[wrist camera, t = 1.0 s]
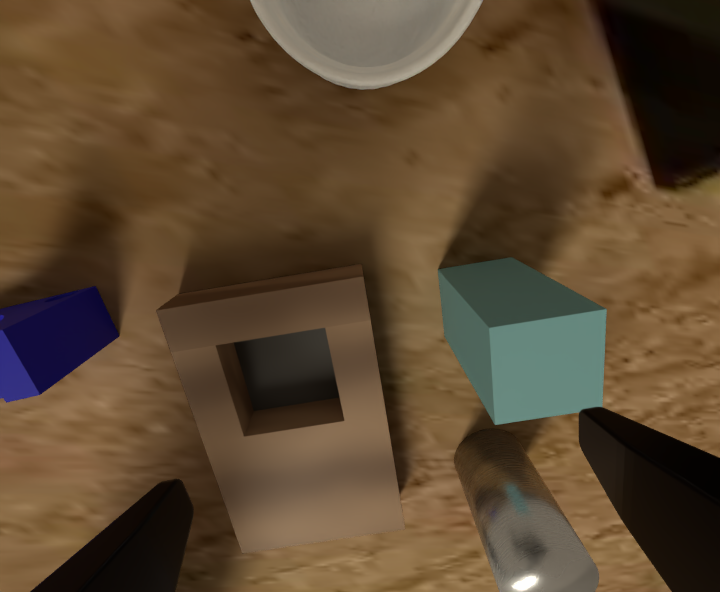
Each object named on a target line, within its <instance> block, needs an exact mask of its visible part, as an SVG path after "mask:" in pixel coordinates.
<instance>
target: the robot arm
mask: <svg viewBox="0 0 720 592" xmlns="http://www.w3.org/2000/svg"><path fill="white" fill-rule="evenodd" d="M579 443H580V447H581V449H582V451H583V453H584V455H585V457H586V459H587V460H588V462H589V464H590V466H591V467H592V469H593V471H594V473H595V474H596V476H597V478H598V480H599V481H600V483H601V485H602V487H603V488H604V490H605V492H606V494H607V496H608V497H609V499H610V501H611V503H612V504H613V506H614V508H615V510H616V511H617V513H618V515H619V516H620V518H621V520H622V521H623V523H624V524H625V525H626V527H627V528H628V530H629V531H630V533H631V534H632V536H633V537H634V539H635V540H636V541H637V543H638V544H639V546H640V547H641V549H642V550H643V551H644V553H645V554H646V556H647V557H648V559H649V560H650V561H651V563H652V564H653V566H654V567H655V568H656V570H657V571H658V573H659V574H660V576H661V577H662V578H663V580H664V581H665V583H666V584H667V586H668V587H669V588H670V590H671V591H672V592H720V458H719V457H717V456H714V455H712V454H710V453H707V452H705V451H703V450H700V449H698V448H696V447H693V446H691V445H689V444H687V443H684V442H682V441H680V440H677V439H675V438H673V437H670V436H668V435H666V434H663V433H661V432H659V431H656V430H654V429H652V428H649V427H647V426H645V425H642V424H640V423H638V422H635V421H633V420H631V419H629V418H626V417H624V416H622V415H619V414H617V413H615V412H612V411H610V410H608V409H605V408H603V407H591V408H585V409H582V410H581V411H580V412H579ZM193 513H194V511H193V505H192V502H191V500H190V498H189V495H188V493H187V491H186V488H185V486H184V484H183V482H182V481H181V480H180V479H172V480H167V481H162V482H160V483H159V484H157V485H156V486H155V487H154V488H153V489H151V490H150V491H149V492H148V493H147V494H146V495H144V496H143V497H142V498H141V499H140V500H138V501H137V502H136V503H135V504H134V505H133V506H131V507H130V508H129V509H128V510H127V511H125V512H124V513H123V514H122V515H121V516H119V517H118V518H117V519H116V520H115V521H114V522H112V523H111V524H110V525H109V526H108V527H106V528H105V529H104V530H103V531H102V532H100V533H99V534H98V535H97V536H96V537H95V538H93V539H92V540H91V541H90V542H89V543H87V544H86V545H85V546H84V547H83V548H82V549H80V550H79V551H78V552H77V553H76V554H74V555H73V556H72V557H71V558H70V559H68V560H67V561H66V562H65V563H64V564H63V565H61V566H60V567H59V568H58V569H57V570H55V571H54V572H53V573H52V574H51V575H50V576H48V577H47V578H46V579H45V580H44V581H42V582H41V583H40V584H39V585H38V586H36V587H35V588H34V589H33V590H32V591H31V592H175V590H176V587H177V583H178V579H179V575H180V571H181V566H182V562H183V558H184V554H185V549H186V545H187V541H188V537H189V532H190V528H191V524H192V520H193Z"/></svg>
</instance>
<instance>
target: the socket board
mask: <svg viewBox="0 0 720 592" xmlns="http://www.w3.org/2000/svg"><path fill="white" fill-rule="evenodd" d="M156 312H157V315H158V318H159V320H160V323H161V326H162V329H163V332H164V335H165V337H166V340H167V343H168V346H169V349H170V351H171V354H172V357H173V360H174V363H175V365H176V368H177V371H178V374H179V377H180V380H181V382H182V385H183V388H184V391H185V394H186V396H187V399H188V402H189V405H190V408H191V410H192V413H193V416H194V419H195V422H196V424H197V427H198V430H199V433H200V436H201V439H202V441H203V444H204V447H205V450H206V453H207V455H208V458H209V461H210V464H211V467H212V469H213V472H214V475H215V478H216V481H217V483H218V486H219V489H220V492H221V495H222V498H223V500H224V503H225V506H226V509H227V512H228V514H229V517H230V520H231V523H232V526H233V528H234V531H235V534H236V537H237V540H238V543H239V545H240V548H241V551H242V554H243V553H250V552H256V551H263V550H270V549H277V548H283V547H290V546H297V545H304V544H310V543H317V542H324V541H331V540H337V539H344V538H351V537H358V536H364V535H371V534H378V533H385V532H391V531H398V530H405V524H404V518H403V512H402V505H401V499H400V493H399V487H398V481H397V475H396V469H395V463H394V457H393V451H392V445H391V439H390V432H389V426H388V420H387V414H386V408H385V402H384V396H383V390H382V384H381V378H380V372H379V366H378V360H377V354H376V348H375V342H374V336H373V330H372V324H371V318H370V312H369V306H368V300H367V294H366V288H365V282H364V276H363V270H362V264H357V265H351V266H345V267H339V268H333V269H327V270H321V271H315V272H309V273H303V274H297V275H291V276H285V277H279V278H273V279H267V280H261V281H255V282H249V283H243V284H237V285H230V286H224V287H218V288H212V289H206V290H200V291H194V292H188V293H182V294H178V295H176V296H175V297H174V298H172V299H171V300H170V301H168V302H167V303H165V304H164V305H163V306H161V307H160V308H159V309H157V310H156Z"/></svg>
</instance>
